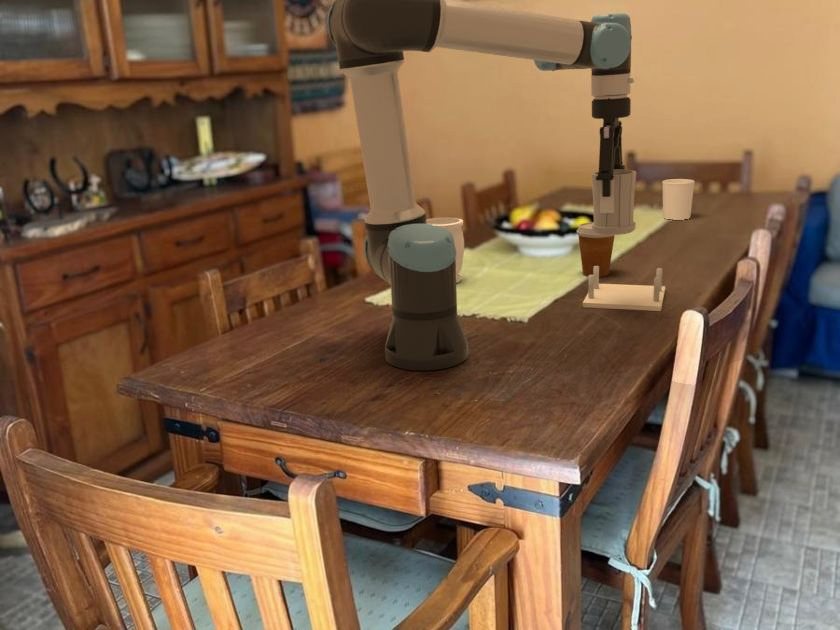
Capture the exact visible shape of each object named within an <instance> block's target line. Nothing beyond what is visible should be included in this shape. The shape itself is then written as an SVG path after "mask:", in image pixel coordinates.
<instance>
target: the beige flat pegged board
mask: <svg viewBox="0 0 840 630" xmlns="http://www.w3.org/2000/svg"><path fill="white" fill-rule="evenodd" d="M653 278H654V279H653V285H645V284H644V285H640V284H619V283H618V284H617V283H616V284H615V283H600V277H599V266H594V271H593V275H589V276H588V291H587V294H586V295H585V298H584V300H583V301H582V308H589V309H590V308H593V309H594V308H595V309H608V310H609V309H612V310H613V309H614V310H632V311H649V312H650V311H651V312H652V311H654V312H661V311H662V308H663V302H664V298H665V292H666V286H664V285H663V268H662V267H658V268H656V276H655V277H653Z"/></svg>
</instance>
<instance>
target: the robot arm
mask: <svg viewBox="0 0 840 630" xmlns="http://www.w3.org/2000/svg"><path fill="white" fill-rule="evenodd" d="M326 24H327V25H326V26H327V32H328V36H329V38H330V40H331V41H332V44H333V45H334V46H335V48H336V54H337V60H338V66H339V71H340V72H341V73H342V74H344V76H346V77H347V78H348V79H349V80H350V86H351V92H352V93H351V94H352V98H353V99H352V100H353V107H354V113H355V119H356V123H357V125H356V127H357V130H358V137H359V144H360V149H361V150H360V151H361V155H362V163H363V169H364V174H365V181H366V188H367V194H368V201H369V206H370V207H369V208H370V210H369V212H368V213H367V215H366V216H365V218H364V227H365V233H366V235H365V239H364V245H363V249H364V251H363V252H364V256H365V257H364V258H365V259H366V262H367V264H368V266H369V268H370V269H371V270H372V271H373V273H375V275H376V276H378V277H379V278H381V279H382V280H384V281H385V282H386V283H388V284H389V285H390V294H391V308H392V309H391V311H392V312H391V313H392V319H391V323H390V326H389V330H388V334H387V338H386V342H385V345H384V357H385V361H386V362H387V363H388V364H389V365H390V366H393V367H395V368H397V369H398V368H399V369H403V370H409V371H435V370H442V369H448V368H451V367H454V366H457V365H459V364H461V363H463V362H465V361H467V359H468V358H469V343H468V340H467V337H466V334H465V332H464V329H463V327H462V324H461V321H460V319H459V315H458V300H457V299H458V298H457V297H458V296H457V295H458V293H457V283H456V248H455V244H454V237H453V235H452V234H451V232H450V231H449V230H447V229H445V228H443V227H441V226H433V225H431V224H427V223H426V220H427V219H426V218H427V217H426V210H425V209H424V208H423V207H421V206H420V205H419V204H418V203H417V202H416V196H415V189H414V182H413V174H412V167H411V160H410V153H409V147H408V139H407V132H406V125H405V119H404V117H405V116H404V111H403V109H404V108H403V104H402V103H403V102H402V96H401V88H400V83H399V82H400V81H399V74H398V72H399V70H400V68H401V67H402V66H403V64H404V63H405V56H404V52H406V51H407V52H411V51H413V52H424V53H430V52H432V51H433V50H435V49H436V48H440V49H441V48H442V49H447V50H456V51H465V52H472V53H479V54H487V55H492V56H493V55H494V56H502V57H507V58H508V57H509V58H516V59H524V60H533V62H534V64H535V67H536V68H538V70H540V71H544V72H547V71H549V72H550V71H552V72H555V71H562V70H564V71H565V70H566V71H567V70H586V69H587V70H589V69H591V74H590V75H591V76H590V78H591V79H590V80H591V81H590V82H591V83H590V86H591V87H590V88H591V89H590V91H591V92H590V93H591V94H590V95H591V96H592V97H594V98H593V99H592V101H591V117H592V118H593V119H596V120H600V119H601V120H603V121H602V126H601V127H600V128H599V154H598V155H599V156H598V157H599V159H598V171H599V174H598V176H596V180H600V213H614V180H613V178H614V176H613V172H614V170H617V169H622V170H626V165H624V161H623V149H622V147H623V145H622V144H623V143H622V140H623V139H622V138H623V137H622V135H623V126H622V125H623V124H622V120H620V118H622V119H623V118H628V117H630V116H631V111H632V110H631V106H632V105H631V98H630V97H628V95H630V94H631V84H634V81H635V79H634V78H632V77H631V67H632V38H633V36H632V24H631V17H630V16H629V14H627V13H607V14H598V15H594V16H592V17H591V21H588V20H587V21H586V20H578V19H576V18H575V19H574V18H567V17H561V16H554V15H548V14H543V13H536V12H530V11H529V12H528V11H523V10H517V9H511V8H504V7H500V6H499V7H498V6H497V7H496V6H492V5H491V6H490V5H485V4H480V3H479V4H478V3H473V2H465V1H461V0H334V1H333V3H332V4H331V6H330V7H329V10H328V14H327V22H326Z"/></svg>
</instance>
